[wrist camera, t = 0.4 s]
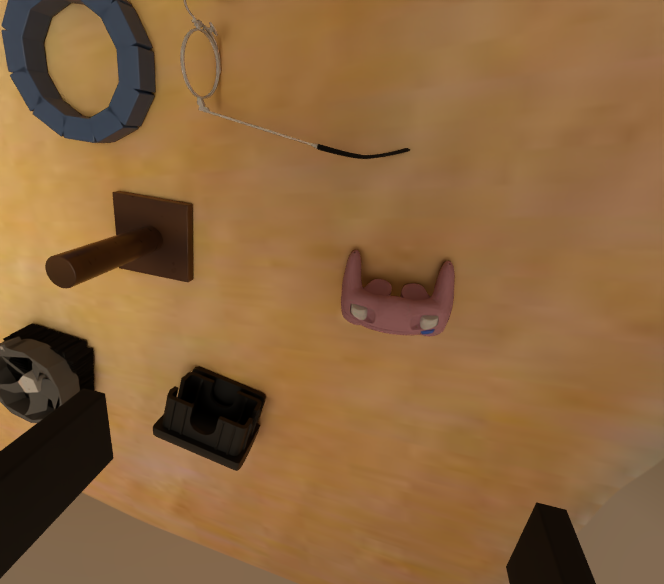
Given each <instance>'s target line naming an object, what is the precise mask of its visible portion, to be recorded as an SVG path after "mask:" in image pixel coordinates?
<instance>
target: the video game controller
mask: <svg viewBox="0 0 664 584" xmlns="http://www.w3.org/2000/svg"><path fill="white" fill-rule="evenodd" d="M454 277H455V275H454V267H453V264H452V263H451V262H450V261H446V262H445V263H444V264H443V266H442V268H441V270H440V272H439V275H438V278H437V281H436V285H435V288H434V292H433V294H432V296H431V297H430V296H429V295H428V294H427V292H426V290H425V288H424V287H423V286H421V285H419V284H415V283H411V284H407V285H405V286H404V287H403V288H402V292H401V297H397V296H390V294H391V290H392V286H391V284H390V283H389V282H387V281H386V280H382V279H374V280H372V281H371V282H370V283H369V284H368V285H367V286H366V287H364V288H363V286H362V282H361V256H360V253H359V251H358V250H353V251H352V252H351V254H350V256H349V258H348V260H347V265H346V269H345V273H344V278H343V283H342V296H341V309H342V315H343V317H344V318H345V319H346V320H347V321H349V322H350V323H352V324H356V325H362V326H364V327H367V328H369V329H372V330H375V331H379V332H384V333H389V334H397V335H420V334H421V335H424V336H435V335H438V334H440V333H441V332H442V331H443V330H444V329H445V326H446V324H447V322H448V320H449V317H450V314H451V310H452V306H453V299H454Z"/></svg>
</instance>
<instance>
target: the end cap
mask: <svg viewBox="0 0 664 584" xmlns="http://www.w3.org/2000/svg"><path fill="white" fill-rule="evenodd" d="M177 392H178V387H176V386H175V387H174V388H173V389H170V391H169V393H168V396H167V401H166V406H165V411H164V414H163V415H162V417H161V418H160V419H159V420H158V421H157V422H156V423H155V424H154V425H153V434H154V435H155V436H156V437H158V438H161V439H163V440H165V441H168V442H170V443H172V444H175V445H177V446H179V447H182V448H184V449H186V450H189V451H191V452H193V453H196V454H198V455H200V456H203V457H205V458H207V459H210V460H212V461H214V462H217V463H219V464H221V465H224V466H226V467H228V468H231V469H233V470H235V471H238V470H239V469H240V468H241V466H242V465H243V463H244V461H245V459H246V457H247V455H248V453H249V451H250V449H251V447H252V445H253V442H254V440H255V438H256V435H257V433H258V430H259V427H260V425H259V424H258V420H259V417H260V414H261V411H262V408H263V405H264V402H265V399H266V396H265V394H264V393H262V392H260V391H257V390H255V389H252V388H250V387H247V386H245V385H243V384H240V383H238V382H235V381H233V380H231V379H228V378H226V377H223V376H221V375H219V374H216V373H214V372H211V371H209V370H206V369H204V368H202V367H195V368H194V370H193V371H192V372H189V373H187V374H186V375H185V376H184V377H182V379H181V384H180V389H179V393H178V397H177Z"/></svg>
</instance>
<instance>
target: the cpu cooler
mask: <svg viewBox="0 0 664 584" xmlns="http://www.w3.org/2000/svg"><path fill="white" fill-rule="evenodd" d="M3 339H4V342H2V343H0V402H1V403H2V404H3V405H4V406H5V407H6V408H7V409H8V410H9V411H10V412H11V413H13V414H15V415H17V416H19V417H21V418H23V419H25V420H27V421H29V422H31V423H38V422H40V421H41V420H42V419H44V418H45V417H46V416H48V415H49V414H50V413H52V412H53V411H54V410H56V409H57V408H58V407H59V406H61V405H62V404H63V403H65V402H66V401H67V400H69V399H70V398H71V397H73V396H74V395H75V394H77V393H78V392H79V391H81V390H82V389H83V388H85V389H89V390H93V391H94V386H93V385H94V381H93V380H94V370H93V369H94V368H93V367H94V365H93V364H94V360H93V359H94V354H93V349H91V348H88V347H87V345H86V341H84V340H81V339H80V340H79V338H75V337H73V336H70V335H67V334H63V333H61V332H58V331H57V332H56V331H54V330H52V329H48V328H45V327H42V326H39V325H37V324H36V325H35V324H34V323H32V324H30V325H28V326H26V327H24V328H22V329H20V330H18V331H16V332H14V333H12V334H10V336H8V337H6V338H3Z"/></svg>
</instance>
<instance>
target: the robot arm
mask: <svg viewBox="0 0 664 584" xmlns="http://www.w3.org/2000/svg"><path fill="white" fill-rule="evenodd" d="M112 459H113V451H112V443H111V436H110V428H109V420H108V413H107V405H106V397H105V393H101V392H97V391H93V390H89V389H85V388H83V389H82V390H81V391H79V392H78V393H77V394H75V395H74V396H73V397H71V398H70V399H69V400H67V401H66V402H65V403H63V404H62V405H61V406H59V407H58V408H57V409H56V410H54V411H53V412H52V413H50V414H49V415H48V416H46V417H45V418H44V419H42V420H41V421H40V422H38V423H37V424H36V425H34V426H33V427H32V428H30V429H29V430H28V431H26V432H25V433H24V434H22V435H21V436H20V437H19V438H17V439H16V440H15V441H13V442H12V443H11V444H9V445H8V446H7V447H5V448H4V449H3V450H1V451H0V578H1V577H2V576H3V575H4V574H5V573H6V572H7V571H8V570H9V569H10V568H11V567H12V565H13V564H14V563H15V562H16V561H17V560H18V559H19V558H20V557H21V556H22V555H23V554H24V553H25V552H26V551H27V549H28V548H29V547H30V546H31V545H32V544H33V543H34V542H35V541H36V540H37V539H38V538H39V536H41V535H42V534H43V533H44V531H45V530H46V529H47V528H48V527H49V526H50V525H51V524H52V523H53V522H54V521H55V520H56V519H57V518H58V517H59V516H60V514H61V513H62V512H63V511H64V510H65V509H66V508H67V507H68V506H69V505H70V504H71V503H72V502H73V501H74V500H75V499H76V497H77V496H78V495H79V494H80V493H81V492H82V491H83V490H84V489H85V488H86V487H87V486H88V485H89V484H90V483H91V482H92V480H93V479H94V478H95V477H96V476H97V475H98V474H99V473H100V472H101V471H102V470H103V469H104V468H105V467H106V466H107V465H108V463H109V462H110V461H111V460H112ZM506 568H507V573H508V578H509V583H510V584H596V583H595V580H594V578H593V575H592V573H591V570H590V568H589V565H588V563H587V560H586V558H585V555H584V553H583V550H582V548H581V545H580V543H579V540H578V538H577V535H576V533H575V530H574V528H573V525H572V523H571V520H570V518H569V515H568V513H567V511H566V510H565V509H561V508H557V507H553V506H549V505H545V504H541V503H536V505H535V507H534V509H533V511H532V513H531V515H530V517H529V519H528V522H527V524H526V526H525V528H524V530H523V532H522V534H521V536H520V539H519V541H518V543H517V545H516V547H515V549H514V551H513V553H512V555H511V558H510V560H509V562H508V564H507V566H506Z"/></svg>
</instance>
